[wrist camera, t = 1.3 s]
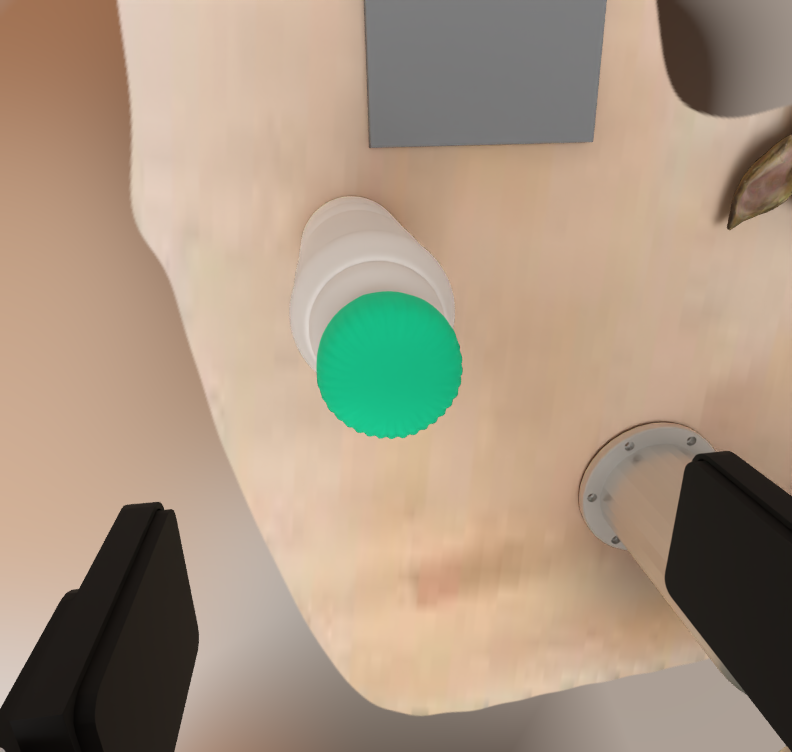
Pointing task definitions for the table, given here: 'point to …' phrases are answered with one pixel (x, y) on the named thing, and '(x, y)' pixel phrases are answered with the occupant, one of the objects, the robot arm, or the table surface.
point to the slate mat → (482, 71)
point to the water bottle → (374, 320)
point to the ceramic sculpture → (764, 184)
